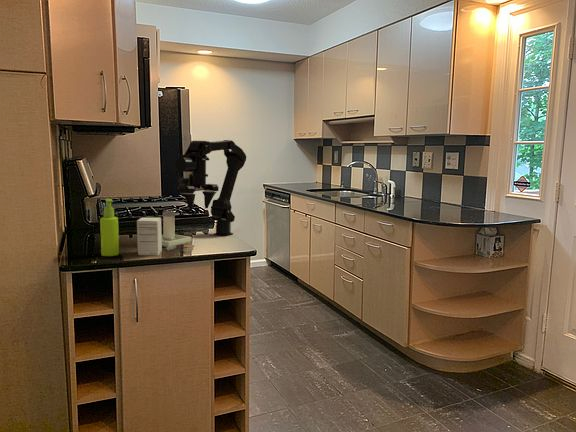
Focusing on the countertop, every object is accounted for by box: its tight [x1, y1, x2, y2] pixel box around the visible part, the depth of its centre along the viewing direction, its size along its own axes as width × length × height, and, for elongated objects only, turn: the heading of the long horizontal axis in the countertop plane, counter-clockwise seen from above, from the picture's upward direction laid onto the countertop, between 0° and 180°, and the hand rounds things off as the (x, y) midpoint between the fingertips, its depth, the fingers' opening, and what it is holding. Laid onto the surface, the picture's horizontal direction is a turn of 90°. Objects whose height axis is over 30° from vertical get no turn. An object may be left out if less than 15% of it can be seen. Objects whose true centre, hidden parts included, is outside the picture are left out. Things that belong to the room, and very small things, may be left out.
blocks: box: [166, 244, 196, 253], centre depth 172 cm, size 10×8×1 cm
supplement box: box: [136, 217, 163, 256], centre depth 163 cm, size 7×7×13 cm
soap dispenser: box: [99, 198, 120, 257], centre depth 158 cm, size 6×7×20 cm
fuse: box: [162, 210, 176, 241], centre depth 181 cm, size 5×5×12 cm
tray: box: [161, 233, 193, 248], centre depth 182 cm, size 13×13×2 cm
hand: (198, 209), depth 186 cm, fingers open, 9 cm apart
